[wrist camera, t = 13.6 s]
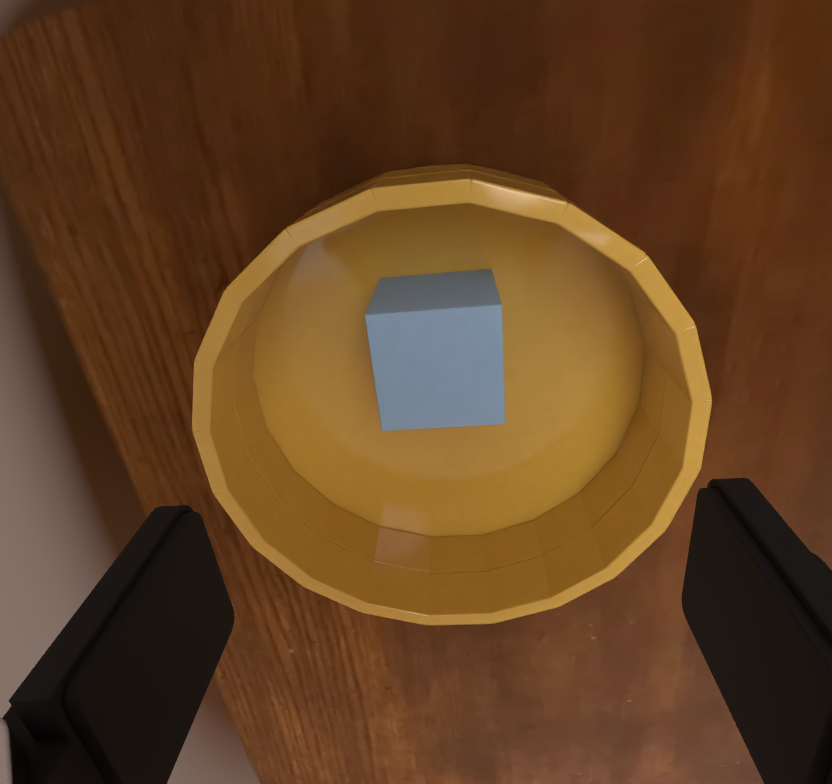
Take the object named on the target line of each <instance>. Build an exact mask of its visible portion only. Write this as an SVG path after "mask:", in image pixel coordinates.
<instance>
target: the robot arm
mask: <svg viewBox="0 0 832 784" xmlns="http://www.w3.org/2000/svg"><path fill="white" fill-rule="evenodd" d="M682 607H683V612H684V615H685V618H686V620H687V622H688V624H689V626H690V628H691V630H692V633H693V635H694V637H695V639H696V641H697V643H698V645H699V647H700V649H701V651H702V654H703V656H704V658H705V660H706V662H707V664H708V666H709V668H710V670H711V673H712V675H713V677H714V679H715V681H716V683H717V685H718V687H719V689H720V691H721V694H722V696H723V698H724V700H725V702H726V704H727V706H728V708H729V710H730V712H731V715H732V717H733V719H734V721H735V723H736V725H737V727H738V729H739V731H740V733H741V736H742V738H743V740H744V742H745V744H746V746H747V748H748V750H749V752H750V755H751V757H752V759H753V761H754V763H755V765H756V767H757V769H758V771H759V773H760V776H761V778H762V780H763V782H764V784H832V571H831V570H830V568H829V567H828V566H827V565H826V564H825V562H823V561H822V560H821V559H820V558H819V557H818V556H817V555H815V554H813V553H811V552H810V551H809V550H808V548H807V547H806V546H805V545H804V544H803V542H802V541H801V540H800V539H799V538H798V536H797V535H796V534H795V533H794V532H793V531H792V529H791V528H790V527H789V526H788V525H787V523H786V522H785V521H784V520H783V519H782V517H781V516H780V515H779V514H778V513H777V511H776V510H775V509H774V508H773V507H772V505H771V504H770V503H769V502H768V501H767V499H766V498H765V497H764V496H763V495H762V494H761V492H760V491H759V490H758V489H757V488H756V486H755V485H754V484H753V483H752V482H751V481H750V480H749V479H747V478H732V479H713V480H711V481H710V482H709V483H708V486H707V488H701V489H700V490H699V491H698V495H697V501H696V507H695V514H694V520H693V527H692V533H691V540H690V546H689V553H688V559H687V566H686V572H685V579H684V585H683V591H682ZM233 624H234V610H233V607H232V604H231V601H230V598H229V595H228V592H227V589H226V586H225V583H224V581H223V578H222V575H221V572H220V569H219V566H218V563H217V560H216V557H215V554H214V551H213V548H212V546H211V543H210V540H209V537H208V534H207V531H206V528H205V525H204V522H203V519H202V517H201V515H200V514H199V513H197V512H193V510H192V508H191V507H190V506H187V505H179V506H160V507H157V508H155V509H154V510H153V511H152V513H151V514H150V515H149V516H148V518H147V519H146V520H145V522H144V523H143V524H142V526H141V527H140V529H139V530H138V531H137V532H136V534H135V535H134V536H133V538H132V539H131V540H130V542H129V543H128V544H127V545H126V547H125V548H124V550H123V551H122V552H121V553H120V555H119V556H118V557H117V559H116V560H115V561H114V563H113V564H112V565H111V567H110V568H109V569H108V571H107V572H106V573H105V574H104V576H103V577H102V579H101V580H100V581H99V582H98V584H97V585H96V586H95V588H94V589H93V590H92V592H91V593H90V594H89V596H88V597H87V598H86V600H85V601H84V602H83V603H82V605H81V606H80V608H79V609H78V610H77V611H76V613H75V614H74V615H73V617H72V618H71V619H70V621H69V622H68V623H67V625H66V626H65V627H64V628H63V630H62V631H61V632H60V634H59V635H58V636H57V638H56V639H55V640H54V642H53V643H52V644H51V646H50V647H49V648H48V650H47V651H46V652H45V654H44V655H43V656H42V657H41V659H40V660H39V661H38V663H37V664H36V665H35V667H34V668H33V669H32V671H31V672H30V673H29V675H28V676H27V677H26V679H25V680H24V681H23V683H22V684H21V685H20V687H19V688H18V689H17V690H16V692H15V693H14V695H13V696H12V697H11V698H10V700H9V702H10V703H11V705H12V706H11V707H10V709H9V710H8V712H7V713H6V714H5V715H4V717H3V718H0V784H167V782H168V779H169V777H170V775H171V772H172V770H173V768H174V765H175V763H176V760H177V758H178V756H179V753H180V751H181V749H182V746H183V744H184V741H185V739H186V737H187V735H188V732H189V730H190V728H191V725H192V723H193V721H194V718H195V716H196V714H197V711H198V709H199V707H200V704H201V702H202V699H203V697H204V695H205V692H206V690H207V688H208V685H209V683H210V681H211V678H212V676H213V674H214V671H215V669H216V667H217V664H218V662H219V660H220V657H221V655H222V653H223V650H224V648H225V645H226V643H227V641H228V638H229V636H230V634H231V631H232V628H233Z"/></svg>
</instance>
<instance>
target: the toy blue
mask: <svg viewBox="0 0 832 784" xmlns="http://www.w3.org/2000/svg"><path fill="white" fill-rule="evenodd" d="M365 321H366V328H367V335H368V341H369V348H370V355H371V362H372V368H373V375H374V382H375V389H376V396H377V402H378V409H379V416H380V423H381V429H382V431H393V430H411V429H428V428H445V427H462V426H480V425H497V424H505V394H504V358H503V322H502V304H501V300H500V296H499V293H498V289H497V286H496V282H495V279H494V275H493V271H492V269H482V270H470V271H458V272H446V273H434V274H422V275H410V276H398V277H386V278H380V279H379V281H378V284H377V286H376V289H375V291H374V294H373V296H372V299H371V301H370V304H369V306H368V309H367V312H366V314H365Z"/></svg>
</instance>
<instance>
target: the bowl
mask: <svg viewBox="0 0 832 784" xmlns="http://www.w3.org/2000/svg"><path fill="white" fill-rule="evenodd" d="M482 269H492V271H493V275H494V279H495V282H496V286H497V289H498V293H499V296H500V300H501V304H502V322H503V358H504V394H505V424H497V425H480V426H462V427H445V428H428V429H411V430H393V431H382V429H381V423H380V416H379V409H378V402H377V396H376V389H375V382H374V375H373V368H372V362H371V355H370V348H369V341H368V335H367V328H366V321H365V314H366V312H367V309H368V306H369V304H370V301H371V299H372V296H373V294H374V291H375V289H376V286H377V284H378V281H379V279H380V278H386V277H398V276H410V275H422V274H434V273H446V272H458V271H470V270H482ZM711 406H712V395H711V391H710V386H709V382H708V377H707V373H706V368H705V364H704V359H703V355H702V350H701V345H700V341H699V336H698V332H697V327H696V325H695V323H694V320H693V319H692V318H691V316H690V315H689V313H688V312H687V310H686V309H685V308H684V306H683V305H682V303H681V302H680V300H679V299H678V298H677V296H676V295H675V293H674V292H673V290H672V289H671V288H670V286H669V285H668V283H667V282H666V280H665V279H664V278H663V276H662V275H661V273H660V272H659V270H658V269H657V268H656V266H655V265H654V263H653V262H652V260H651V259H650V257H649V256H648V255H647V254H645V252H644V251H642V250H641V249H639V248H638V247H637V246H635V245H634V244H633V243H631V242H630V241H628V240H627V239H626V238H624V237H623V236H622V235H620V234H619V233H617V232H616V231H615V230H613V229H612V228H611V227H609V226H608V225H606V224H605V223H604V222H602V221H601V220H599V219H598V218H596V217H595V216H593V215H592V214H590V213H589V212H587V211H586V210H584V209H583V208H581V207H580V206H578V205H577V204H575V203H574V202H572V201H571V200H569V199H568V198H566V197H565V196H563V195H562V194H560V193H559V192H557V191H556V190H554V189H553V188H551V187H550V186H548V185H547V184H545V183H542V182H541V181H537V180H533V179H529V178H525V177H522V176H519V175H515V174H511V173H507V172H503V171H500V170H496V169H492V168H485V167H479V166H475V165H471V164H466V165H465V164H464V163H463V164H454V165H429V166H421V167H416V168H410V169H404V170H394V171H388V172H384V173H382V174H380V175H378V176H376V177H374V178H372V179H369V180H366V181H364V182H362V183H360V184H358V185H356V186H354V187H352V188H350V189H348V190H346V191H344V192H342V193H340V194H338V195H336V196H333V197H331V198H329V199H327V200H325V201H323V202H321V203H319V204H318V205H316V206H315V207H314V208H312V209H311V210H309V211H308V212H307V213H305V214H304V215H303V216H302V217H300V218H299V219H297V220H296V221H295V222H293V223H292V224H291V225H289V226H288V227H286V228H285V229H284V230H283V231H282V232H281V233H280V234H279V235H278V236H277V237H276V238H275V239H274V240H273V241H272V242H271V243H270V244H269V245H268V246H267V247H266V248H265V249H264V250H263V251H262V252H261V253H260V254H259V255H258V256H257V257H256V258H255V259H254V260H253V261H252V262H251V263H250V264H249V265H248V266H247V267H246V268H245V269H244V270H243V271H242V272H241V273H240V274H239V275H238V276H237V277H236V278H235V279H234V280H233V281H232V282H231V283H230V284H229V285H228V286H227V287H226V290H224V292H223V294H222V296H221V299H220V301H219V303H218V306H217V308H216V310H215V313H214V315H213V317H212V320H211V322H210V324H209V327H208V329H207V331H206V334H205V336H204V338H203V341H202V343H201V345H200V348H199V350H198V352H197V355H196V357H195V361H194V379H193V411H192V431H193V435H194V438H195V441H196V444H197V447H198V450H199V453H200V456H201V459H202V462H203V465H204V468H205V471H206V474H207V477H208V480H209V483H210V486H211V489H212V492H213V493H214V496H215V497H216V499H217V500H218V501H219V503H220V504H221V505H222V507H223V508H224V509H225V511H226V512H227V514H228V515H229V516H230V518H231V519H232V520H233V522H234V523H235V524H236V526H237V527H238V529H239V530H240V531H241V533H242V534H243V535H244V537H245V538H246V539H247V541H248V542H249V543H250V545H251V546H253V548H254V549H255V550H257V551H258V552H259V553H260V554H262V555H263V556H264V557H266V558H267V559H268V560H269V561H271V562H272V563H273V564H275V565H276V566H277V567H278V568H280V569H281V570H282V571H284V572H285V573H286V574H287V575H289V576H290V577H291V578H293V579H294V580H295V581H296V582H298V583H299V584H300V585H302V586H304V587H305V588H307V589H309V590H311V591H314V592H316V593H318V594H320V595H323V596H325V597H327V598H329V599H332V600H334V601H336V602H338V603H341V604H343V605H345V606H347V607H350V608H352V609H354V610H356V611H359V612H361V613H362V612H363V613H365V614H370V615H375V616H381V617H386V618H391V619H396V620H401V621H406V622H411V623H416V624H422V625H466V624H492V622H493V623H498V622H502V621H506V620H510V619H514V618H518V617H522V616H526V615H530V614H534V613H538V612H542V611H546V610H550V609H554V608H556V607H560V606H562V605H564V604H566V603H568V602H569V601H571V600H573V599H575V598H577V597H579V596H581V595H583V594H585V593H587V592H589V591H590V590H592V589H594V588H596V587H598V586H600V585H602V584H604V583H606V582H608V581H609V580H611V579H613V578H615V577H616V575H619V574H620V573H621V572H622V571H623V570H624V569H625V568H626V567H627V566H628V565H629V564H631V563H632V562H633V561H634V560H635V559H636V558H637V557H638V556H639V555H640V554H641V553H642V552H643V551H644V550H646V549H647V548H648V547H649V546H650V545H651V544H652V543H653V542H654V541H655V540H656V539H657V538H658V537H660V536H661V535H662V534H663V533H664V532H665V529H667V528H668V526H669V525H670V523H671V521H672V519H673V518H674V516H675V514H676V512H677V511H678V509H679V507H680V505H681V503H682V502H683V500H684V498H685V496H686V495H687V493H688V491H689V489H690V488H691V486H692V484H693V482H694V481H695V479H696V477H697V475H698V474H699V471H700V469H701V465H702V459H703V453H704V447H705V441H706V435H707V429H708V423H709V417H710V412H711Z"/></svg>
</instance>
